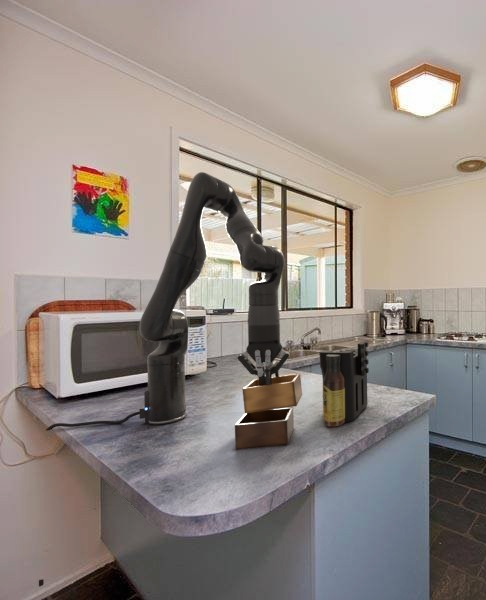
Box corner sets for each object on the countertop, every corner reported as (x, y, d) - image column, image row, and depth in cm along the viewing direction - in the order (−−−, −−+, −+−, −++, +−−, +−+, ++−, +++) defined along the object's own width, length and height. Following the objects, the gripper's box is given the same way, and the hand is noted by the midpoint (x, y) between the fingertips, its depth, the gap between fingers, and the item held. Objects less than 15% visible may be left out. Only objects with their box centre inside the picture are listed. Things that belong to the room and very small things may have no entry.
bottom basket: (235, 450, 78) (234, 425, 78) (247, 433, 88) (246, 411, 88) (287, 444, 80) (287, 420, 80) (293, 429, 90) (293, 407, 90)
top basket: (244, 413, 78) (240, 371, 78) (256, 401, 88) (252, 364, 88) (296, 406, 80) (292, 365, 80) (302, 394, 90) (298, 358, 90)
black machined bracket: (319, 423, 94) (317, 346, 94) (345, 401, 114) (343, 338, 114) (358, 425, 92) (356, 347, 92) (377, 402, 112) (376, 338, 112)
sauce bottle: (324, 420, 96) (323, 352, 96) (346, 419, 97) (345, 352, 97) (321, 429, 90) (320, 356, 90) (344, 427, 90) (343, 355, 90)
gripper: (293, 321, 89) (294, 385, 89) (241, 322, 87) (242, 387, 87) (288, 323, 81) (289, 392, 81) (231, 324, 79) (232, 396, 79)
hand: (265, 390), depth 84 cm, fingers closed
